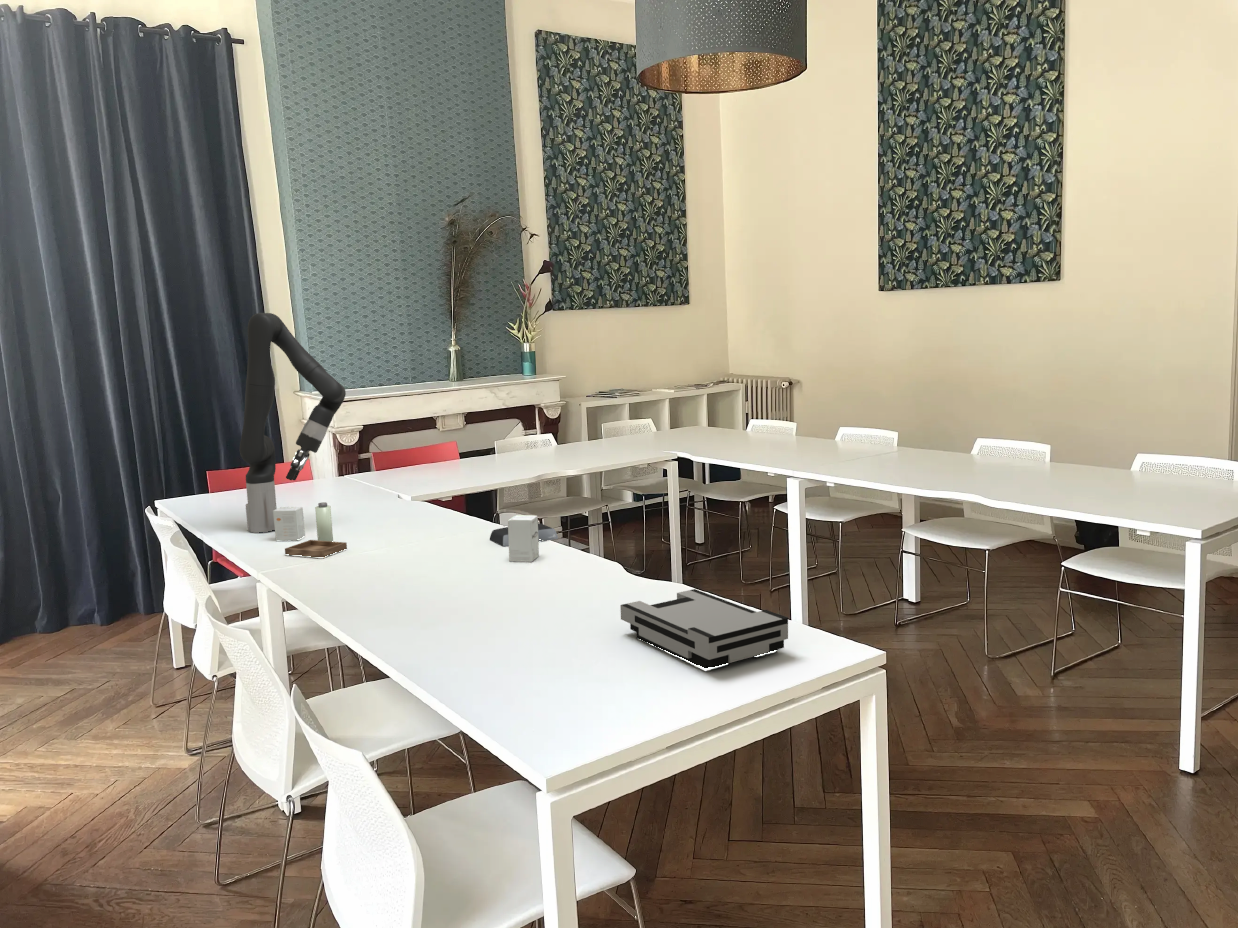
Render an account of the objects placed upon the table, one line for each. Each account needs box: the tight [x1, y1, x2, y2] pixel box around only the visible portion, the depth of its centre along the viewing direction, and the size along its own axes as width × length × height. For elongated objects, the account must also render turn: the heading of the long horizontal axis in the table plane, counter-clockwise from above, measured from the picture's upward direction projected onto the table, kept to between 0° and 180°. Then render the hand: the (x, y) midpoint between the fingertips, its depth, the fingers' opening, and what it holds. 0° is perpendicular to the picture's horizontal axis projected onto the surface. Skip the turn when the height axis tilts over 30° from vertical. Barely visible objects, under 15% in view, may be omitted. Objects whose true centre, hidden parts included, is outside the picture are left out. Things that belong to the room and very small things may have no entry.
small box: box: [273, 506, 306, 541], centre depth 316 cm, size 8×6×10 cm
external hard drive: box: [489, 523, 559, 547], centre depth 308 cm, size 13×19×4 cm
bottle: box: [314, 502, 334, 542], centre depth 309 cm, size 5×5×13 cm
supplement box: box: [507, 514, 540, 563], centre depth 282 cm, size 7×7×13 cm
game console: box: [620, 588, 789, 668], centre depth 205 cm, size 21×32×8 cm, turn 33°
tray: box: [284, 539, 348, 557], centre depth 297 cm, size 14×12×2 cm
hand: (290, 479), depth 318 cm, fingers open, 8 cm apart
